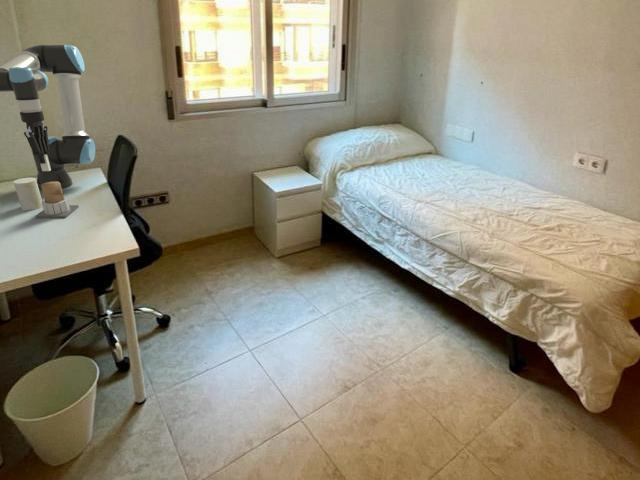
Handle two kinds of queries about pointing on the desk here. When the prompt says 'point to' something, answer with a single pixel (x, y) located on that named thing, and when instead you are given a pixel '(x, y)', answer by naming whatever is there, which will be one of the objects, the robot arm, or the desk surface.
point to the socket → (56, 209)
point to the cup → (28, 193)
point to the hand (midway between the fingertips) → (46, 170)
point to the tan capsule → (52, 192)
